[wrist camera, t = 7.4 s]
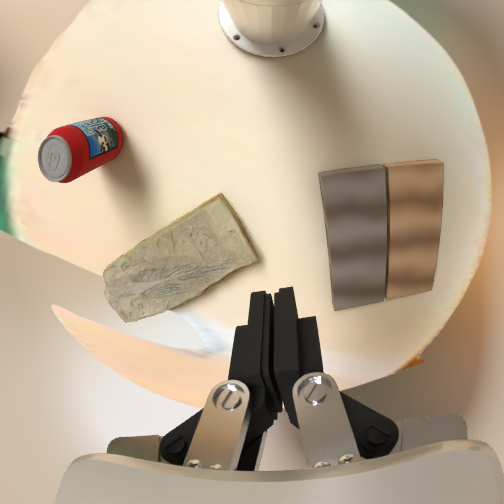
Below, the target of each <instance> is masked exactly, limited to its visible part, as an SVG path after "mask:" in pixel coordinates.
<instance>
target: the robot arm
mask: <svg viewBox="0 0 504 504" xmlns="http://www.w3.org/2000/svg"><path fill="white" fill-rule="evenodd" d="M321 2H322V0H221V2H220V5H219V11H218V17H219V23H220V25H221V28H222V30H223V32H224V33H225V35H226V36H227V37H228V39H229V40H230V41H231V42H232V43H234V44H235V45H236V46H237V47H239V48H241V49H242V50H244V51H246V52H249V53H251V54H254V55H258V56H264V57H282V56H288V55H291V54H295V53H297V52H299V51H301V50H304V49H305V48H306V47H308V46H309V45H311V44H312V43H313V41H314V40H315V39H316V38H317V37H318V35H319V34H320V32H321V30H322V28H323V24H324V9H323V6H322V3H321ZM314 25H315V26H317V28H314V27H313V26H314ZM237 37H239V38H240V39H239V40H236V38H237ZM280 49H283V50H284V52H280ZM283 403H284V407H285V410H286V412H287V413H288V416H289V419H290V422H291V424H293V425H294V426H296V427H297V428H298V429H300V432H301V437H302V442H303V447H304V452H305V457H306V462H307V466H308V469H301V470H300V469H299V470H284V471H258V470H259V466H260V462H261V458H262V454H263V450H264V445H265V440H266V436H267V429H268V428H269V427H271V426H272V425H273V421H274V420H277V413H278V412H282V404H283ZM54 504H504V473H503V470H502V467H501V464H500V461H499V459H498V457H497V455H496V453H495V451H494V450H493V448H492V447H491V446H490V445H489V444H487V443H485V442H482V441H478V440H468V439H467V426H466V422H465V420H464V419H463V418H462V417H461V416H459V415H457V414H447V415H439V416H430V417H419V418H405V419H403V421H392V420H391V419H389V418H387V417H385V416H383V415H381V414H380V413H378V412H376V411H374V410H372V409H370V408H368V407H367V406H365V405H363V404H361V403H359V402H358V401H356V400H354V399H352V398H350V397H349V396H347V395H345V394H344V393H342V392H340V391H339V390H338V387H337V384H336V382H335V380H334V379H333V378H332V377H331V376H330V375H327V374H325V373H324V372H323V364H322V356H321V349H320V342H319V335H318V328H317V321H316V316H313V317H306V318H299V319H298V313H297V307H296V302H295V296H294V290H293V287H287V288H280V289H279V292H277V293H274V304H273V300H272V296H271V294H266V292H265V291H259V292H252V293H251V298H250V308H249V317H248V325H243V326H237V327H236V330H235V336H234V343H233V349H232V356H231V363H230V369H229V376H228V380H227V381H223V382H221V383H219V384H217V385H216V386H215V387H214V388H213V389H212V390H211V392H210V394H209V396H208V398H207V401H206V404H205V407H204V408H203V409H202V410H200V411H199V412H197V413H196V414H195V415H194V416H192V417H190V418H189V419H188V420H186V421H185V422H183V423H182V424H181V425H179V426H178V427H176V428H175V429H173V430H172V431H170V432H169V433H167V434H166V435H165V436H162V437H160V436H159V435H150V436H136V437H119V438H115V439H113V440H112V441H111V442H110V443H109V445H108V448H107V453H96V454H88V455H84V456H81V457H78V458H76V459H75V460H73V461H72V463H70V465H69V466H68V468H67V470H66V472H65V474H64V476H63V478H62V481H61V483H60V486H59V489H58V492H57V495H56V498H55V502H54Z"/></svg>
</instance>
